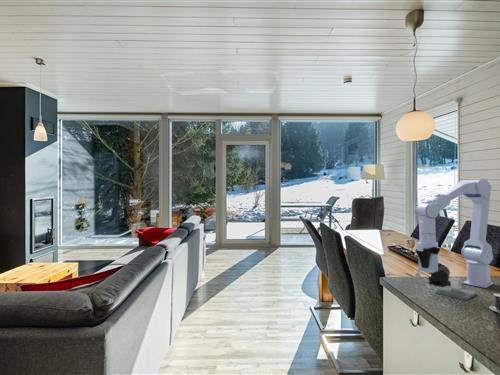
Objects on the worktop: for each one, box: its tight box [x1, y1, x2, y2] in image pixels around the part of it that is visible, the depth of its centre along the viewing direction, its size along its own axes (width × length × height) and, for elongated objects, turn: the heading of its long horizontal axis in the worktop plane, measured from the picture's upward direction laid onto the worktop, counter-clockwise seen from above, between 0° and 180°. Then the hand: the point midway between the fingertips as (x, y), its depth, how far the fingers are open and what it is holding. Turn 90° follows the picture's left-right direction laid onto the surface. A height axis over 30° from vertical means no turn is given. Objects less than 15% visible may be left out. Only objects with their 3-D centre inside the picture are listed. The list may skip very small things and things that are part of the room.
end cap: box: [428, 264, 451, 286], centre depth 131 cm, size 10×7×7 cm
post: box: [450, 276, 462, 293], centre depth 117 cm, size 3×3×5 cm
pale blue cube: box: [417, 253, 439, 274], centre depth 123 cm, size 5×5×7 cm
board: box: [435, 285, 477, 301], centre depth 117 cm, size 10×10×1 cm
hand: (428, 266), depth 123 cm, fingers closed on pale blue cube, 5 cm apart
